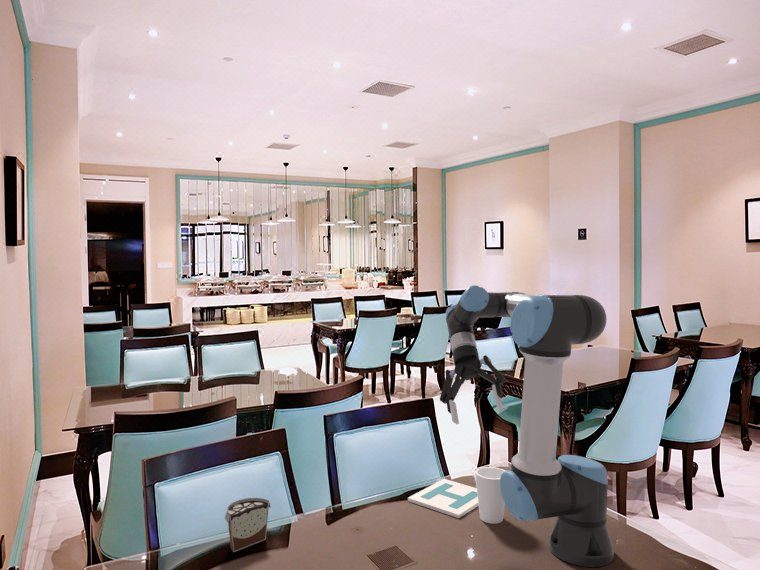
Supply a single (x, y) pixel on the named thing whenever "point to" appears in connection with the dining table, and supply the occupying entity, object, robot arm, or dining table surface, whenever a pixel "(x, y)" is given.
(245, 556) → the dining table surface
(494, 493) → the foam cup
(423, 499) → the letter board
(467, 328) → the robot arm
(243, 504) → the food container
